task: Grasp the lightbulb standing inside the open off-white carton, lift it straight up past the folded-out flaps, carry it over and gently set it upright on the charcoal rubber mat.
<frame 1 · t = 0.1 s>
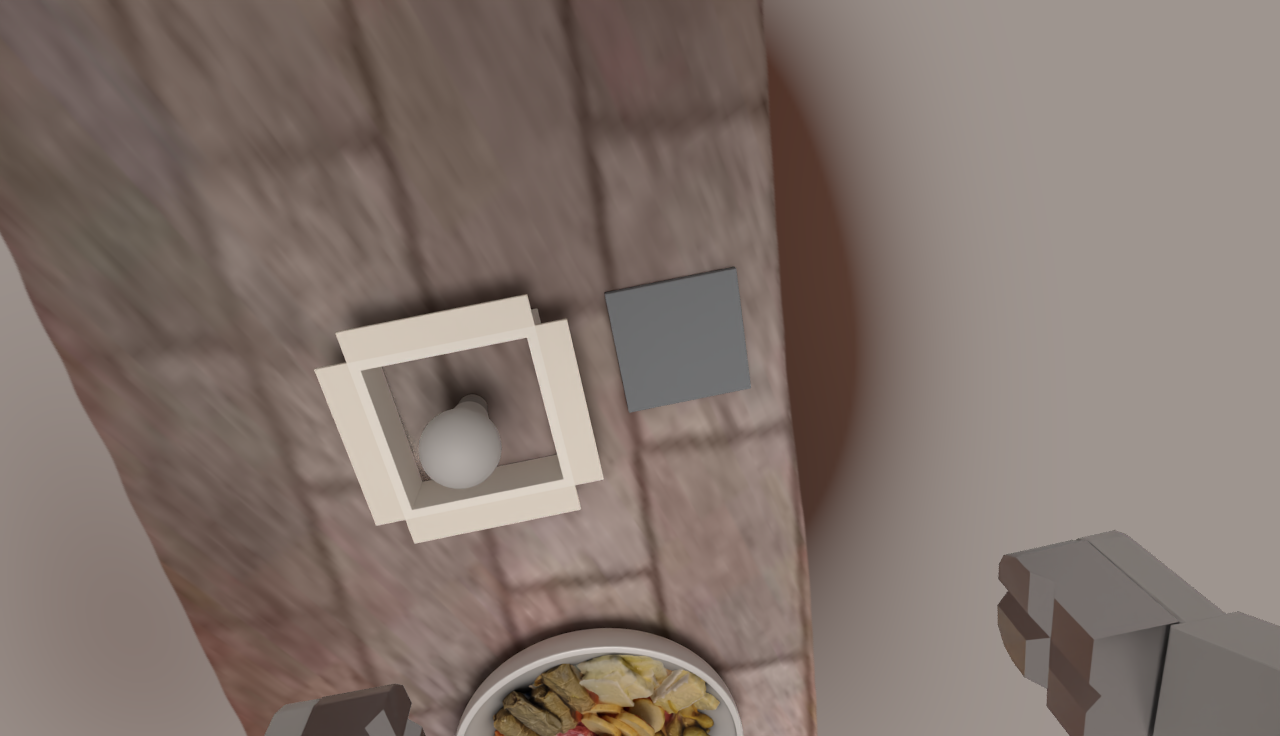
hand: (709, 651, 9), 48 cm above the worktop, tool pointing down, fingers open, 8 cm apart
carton: (474, 403, 59), on the worktop
bowl: (599, 716, 76), on the worktop
mat: (679, 340, 59), on the worktop
lightbulb: (474, 402, 60), resting in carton
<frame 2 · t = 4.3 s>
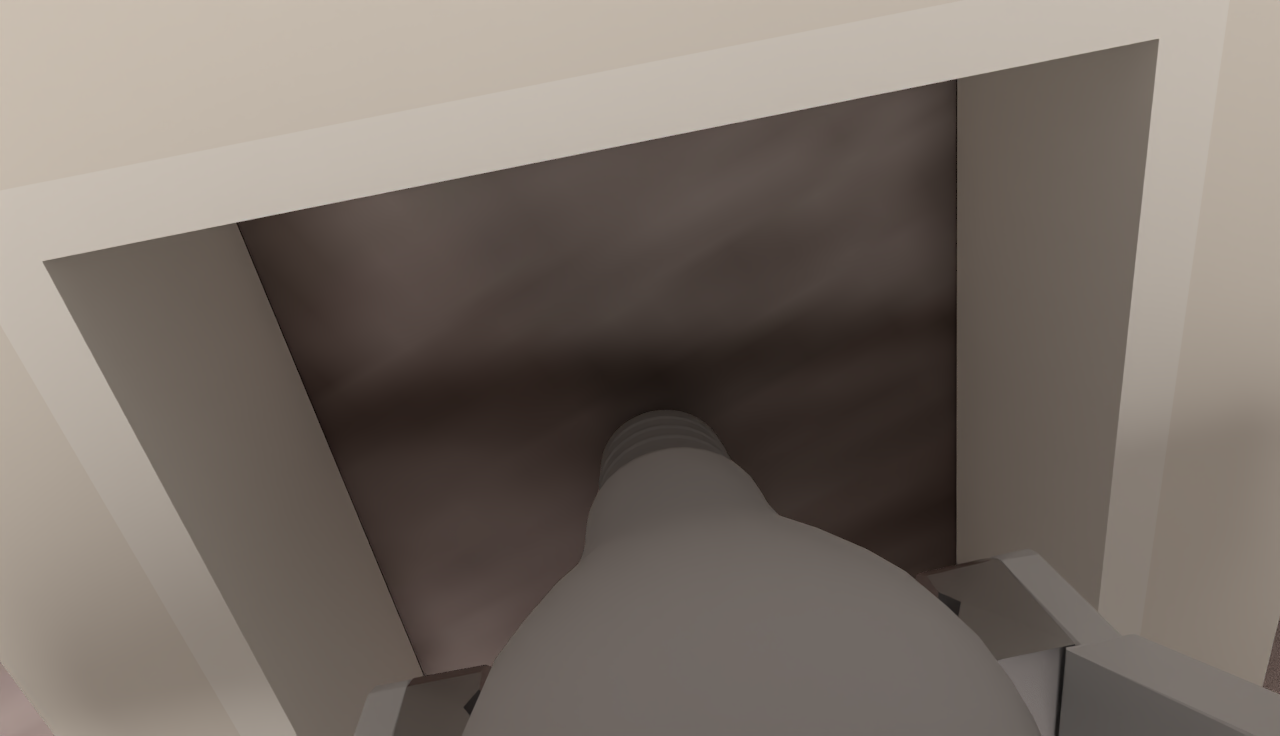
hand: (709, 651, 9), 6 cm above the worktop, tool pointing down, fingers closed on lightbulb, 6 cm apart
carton: (658, 446, 14), on the worktop
lightbulb: (657, 441, 15), resting in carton, touching gripper
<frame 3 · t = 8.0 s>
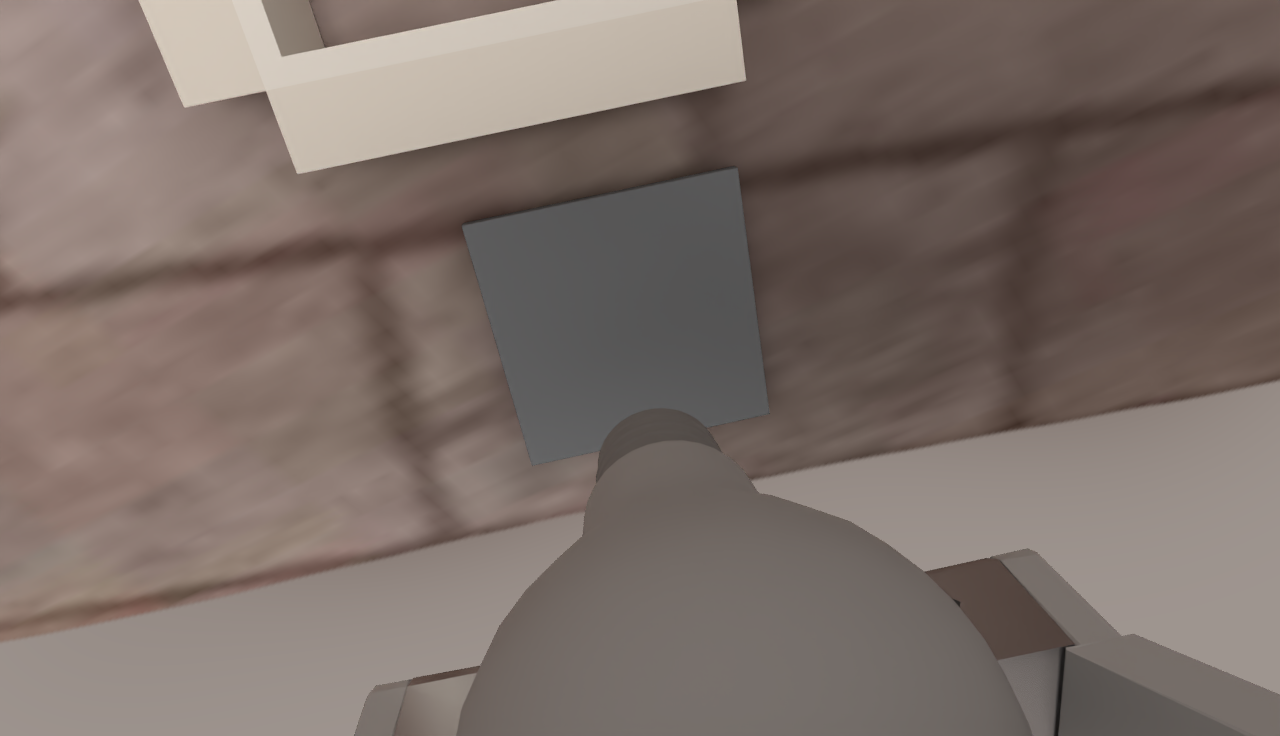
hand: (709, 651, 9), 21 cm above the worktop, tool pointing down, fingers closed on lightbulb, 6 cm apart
mat: (626, 322, 29), on the worktop
lightbulb: (652, 441, 15), point 15 cm above the worktop, touching gripper
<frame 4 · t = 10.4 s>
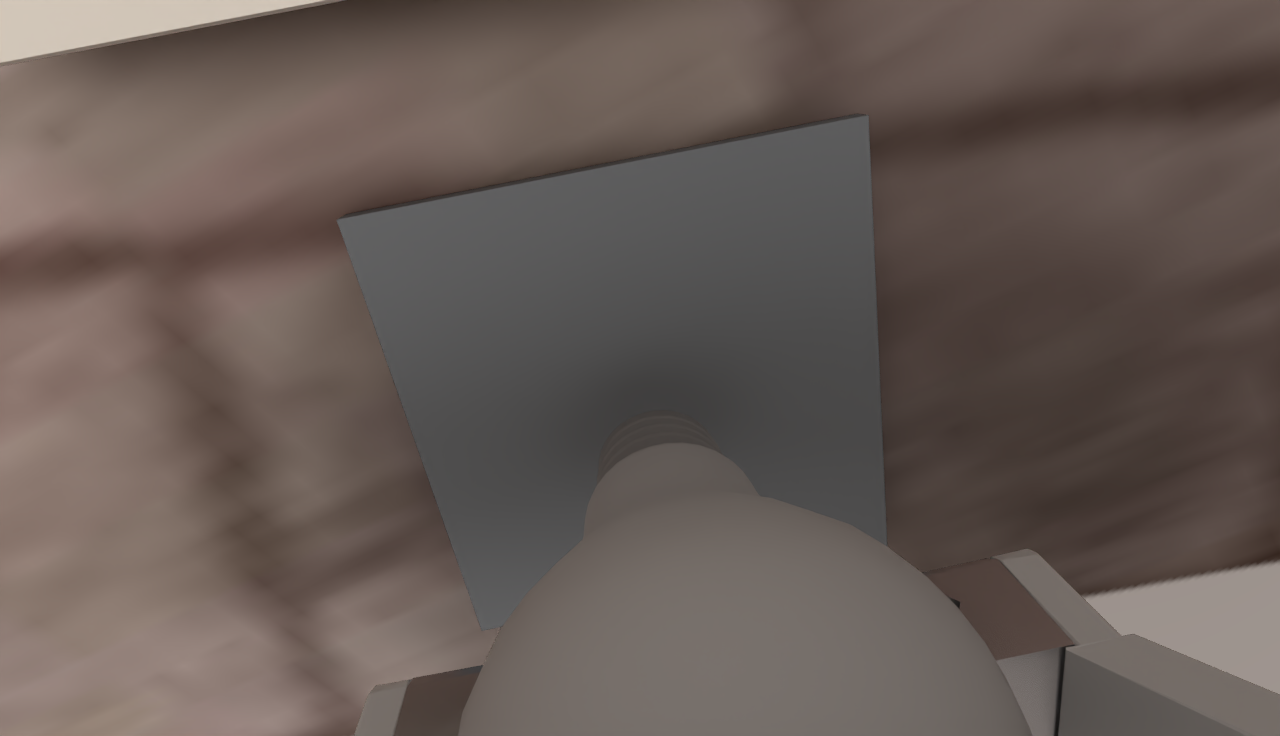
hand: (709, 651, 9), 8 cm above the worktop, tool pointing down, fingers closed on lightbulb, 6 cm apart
mat: (647, 395, 17), on the worktop
lightbulb: (653, 443, 15), point 2 cm above the worktop, touching gripper
when the fingers open (6 cm above the worktop, at t = 12.1 s): lightbulb stays where it is, resting on mat.
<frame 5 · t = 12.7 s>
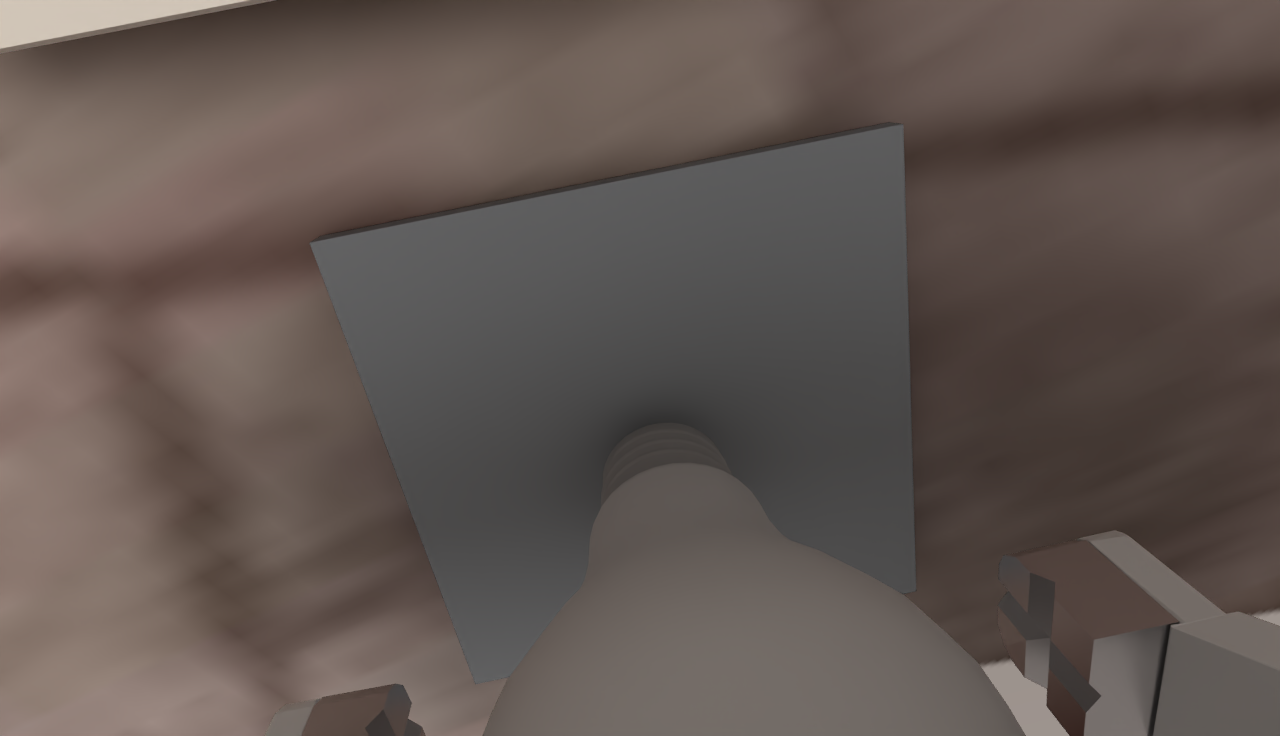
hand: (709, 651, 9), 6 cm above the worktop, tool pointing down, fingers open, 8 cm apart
mat: (655, 430, 15), on the worktop
lightbulb: (657, 452, 15), resting on mat
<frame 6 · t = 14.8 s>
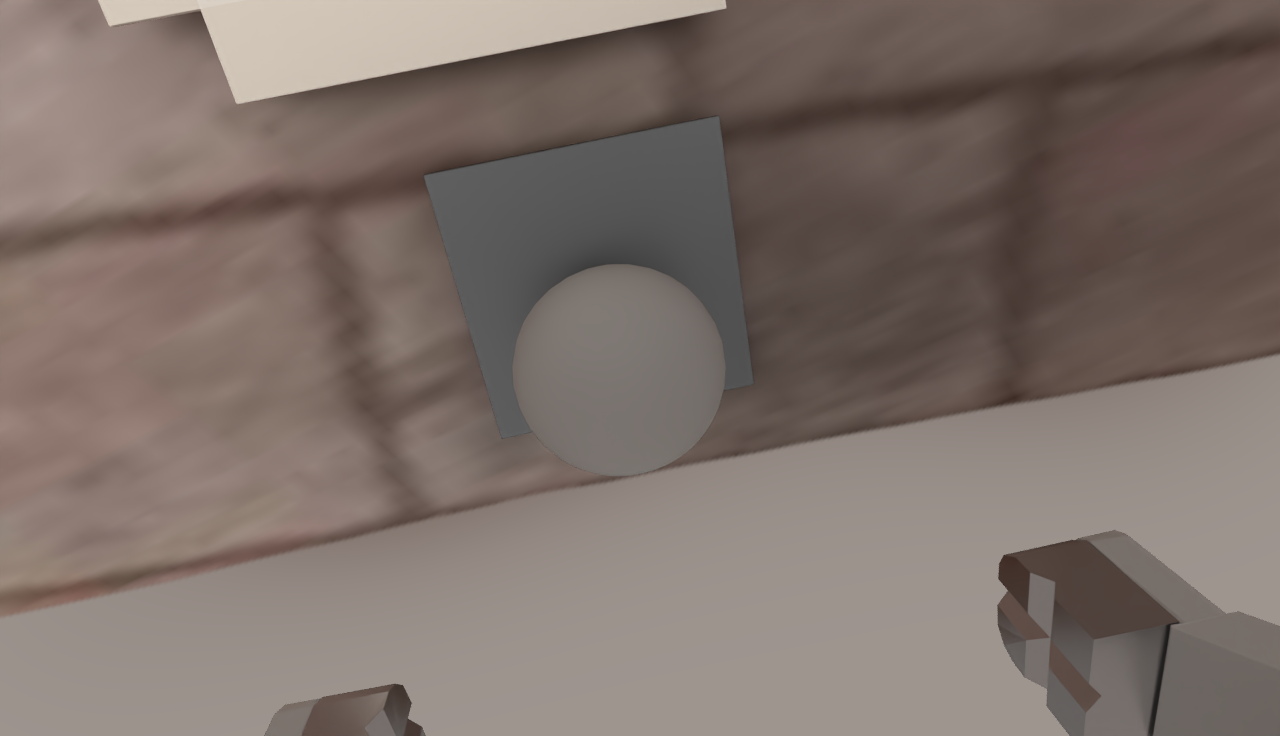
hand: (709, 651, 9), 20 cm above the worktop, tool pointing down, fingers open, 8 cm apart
mat: (601, 284, 28), on the worktop
lightbulb: (602, 295, 27), resting on mat
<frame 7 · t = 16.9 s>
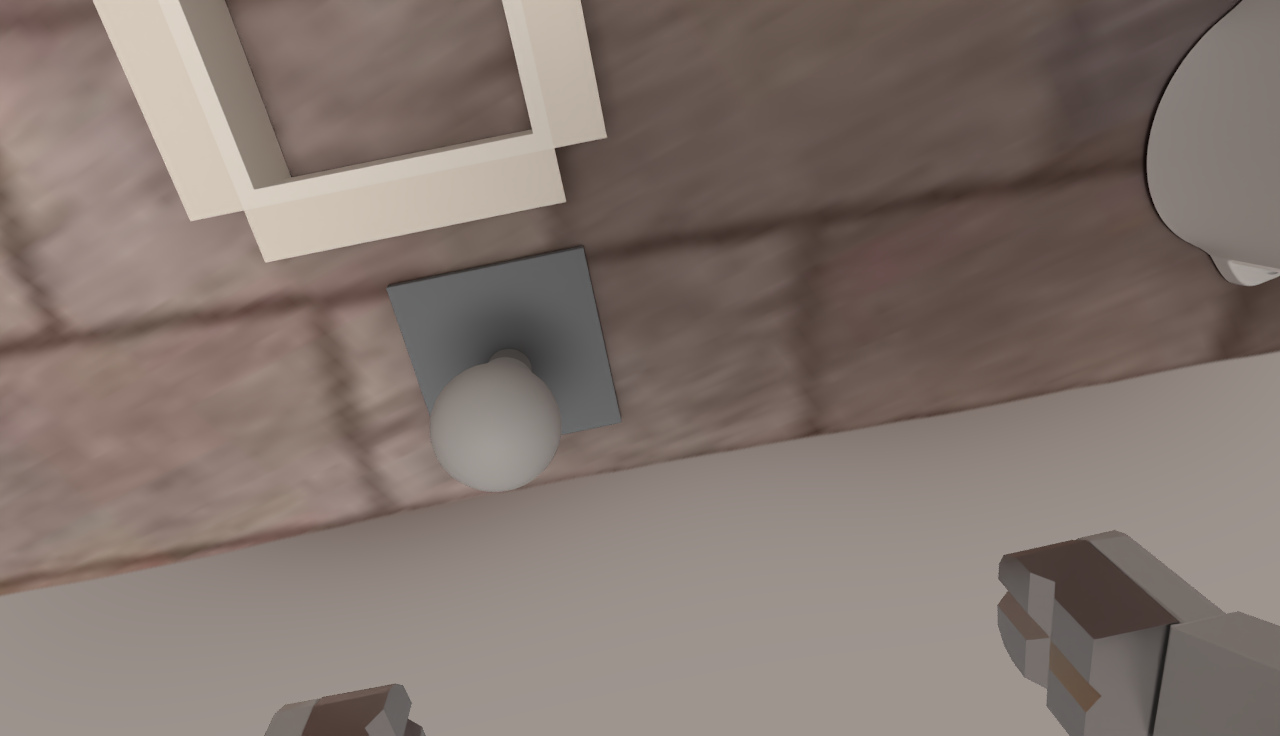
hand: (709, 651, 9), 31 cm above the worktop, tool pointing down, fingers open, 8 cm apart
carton: (373, 14, 33), on the worktop
mat: (511, 355, 40), on the worktop
lightbulb: (511, 362, 40), resting on mat
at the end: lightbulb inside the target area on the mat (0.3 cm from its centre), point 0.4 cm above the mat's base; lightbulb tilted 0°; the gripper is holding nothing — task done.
